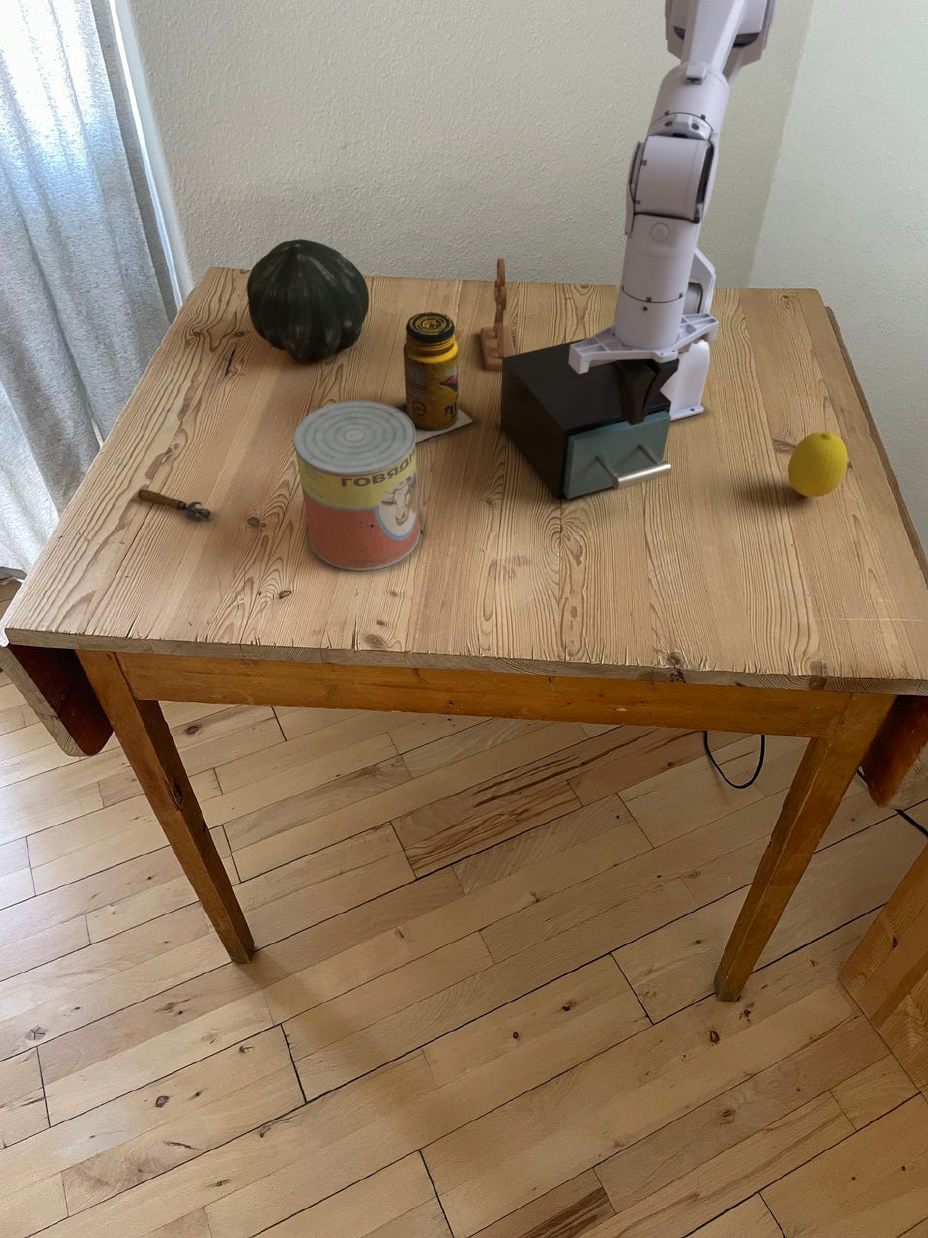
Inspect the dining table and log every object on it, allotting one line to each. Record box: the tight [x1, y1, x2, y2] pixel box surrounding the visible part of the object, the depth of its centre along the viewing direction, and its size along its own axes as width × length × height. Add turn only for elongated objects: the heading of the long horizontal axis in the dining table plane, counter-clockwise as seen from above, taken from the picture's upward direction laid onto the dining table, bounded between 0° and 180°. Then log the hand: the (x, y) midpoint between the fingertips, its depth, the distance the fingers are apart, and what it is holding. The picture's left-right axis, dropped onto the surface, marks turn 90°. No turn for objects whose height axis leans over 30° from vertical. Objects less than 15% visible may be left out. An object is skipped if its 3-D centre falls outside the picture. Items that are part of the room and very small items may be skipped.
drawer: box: [563, 411, 672, 500], centre depth 96 cm, size 18×11×7 cm, turn 23°
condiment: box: [394, 311, 474, 444], centre depth 101 cm, size 7×8×12 cm
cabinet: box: [499, 336, 671, 501], centre depth 98 cm, size 14×12×9 cm
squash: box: [246, 238, 370, 362], centre depth 112 cm, size 14×15×15 cm
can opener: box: [137, 488, 211, 523], centre depth 94 cm, size 9×2×1 cm, turn 62°
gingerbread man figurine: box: [480, 257, 517, 372], centre depth 111 cm, size 9×4×12 cm, turn 4°
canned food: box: [292, 399, 421, 572], centre depth 88 cm, size 11×11×12 cm
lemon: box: [787, 431, 849, 498], centre depth 93 cm, size 6×6×8 cm
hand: (632, 418), depth 88 cm, fingers closed
